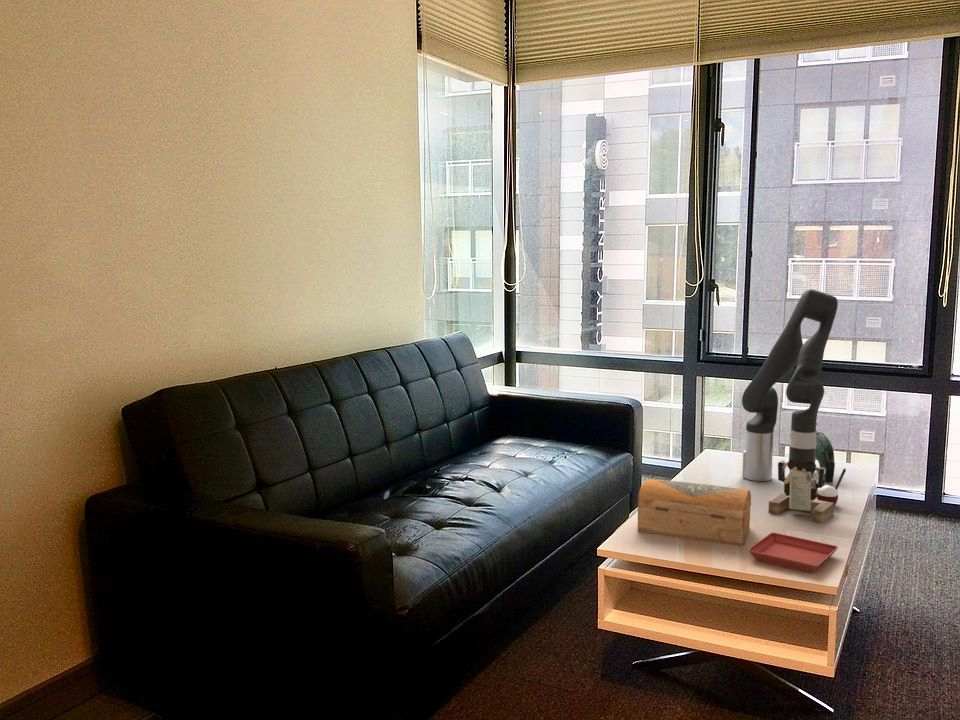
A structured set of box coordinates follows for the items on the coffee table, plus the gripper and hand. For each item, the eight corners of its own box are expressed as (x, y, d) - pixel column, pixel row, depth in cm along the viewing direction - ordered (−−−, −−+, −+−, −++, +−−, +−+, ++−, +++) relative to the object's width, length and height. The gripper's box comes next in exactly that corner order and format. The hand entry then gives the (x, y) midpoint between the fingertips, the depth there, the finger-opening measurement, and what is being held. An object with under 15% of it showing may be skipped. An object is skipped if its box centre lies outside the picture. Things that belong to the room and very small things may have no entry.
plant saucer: (771, 542, 229) (771, 531, 229) (838, 557, 218) (839, 545, 217) (746, 561, 215) (746, 549, 215) (816, 578, 204) (817, 566, 203)
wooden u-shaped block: (768, 512, 254) (768, 501, 253) (781, 503, 262) (781, 493, 261) (821, 523, 243) (822, 511, 243) (833, 513, 252) (833, 502, 251)
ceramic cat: (793, 468, 303) (796, 415, 300) (810, 468, 304) (813, 415, 301) (821, 483, 283) (824, 427, 281) (839, 483, 284) (842, 426, 281)
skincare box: (811, 507, 252) (813, 468, 250) (810, 511, 248) (812, 472, 246) (789, 504, 255) (790, 466, 253) (788, 508, 251) (789, 470, 249)
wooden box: (751, 529, 240) (753, 483, 238) (743, 547, 225) (745, 499, 223) (650, 515, 252) (651, 471, 251) (636, 532, 238) (637, 486, 236)
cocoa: (811, 506, 260) (810, 469, 259) (815, 500, 266) (815, 464, 264) (843, 510, 255) (843, 473, 253) (847, 504, 260) (847, 467, 258)
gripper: (774, 443, 250) (772, 496, 253) (823, 450, 241) (820, 505, 243) (783, 439, 256) (781, 490, 258) (831, 446, 247) (828, 499, 249)
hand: (800, 497), depth 251 cm, fingers closed on skincare box, 7 cm apart
